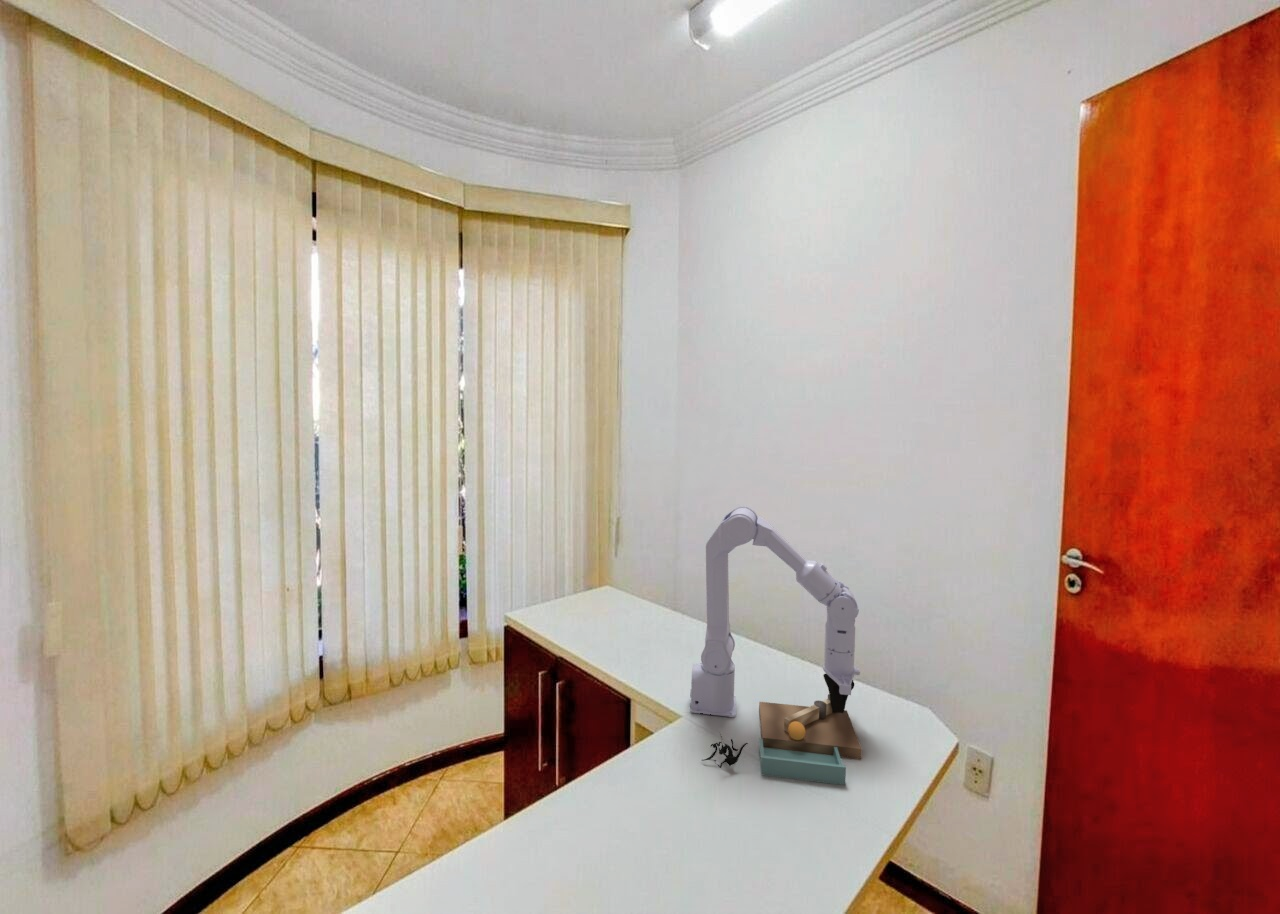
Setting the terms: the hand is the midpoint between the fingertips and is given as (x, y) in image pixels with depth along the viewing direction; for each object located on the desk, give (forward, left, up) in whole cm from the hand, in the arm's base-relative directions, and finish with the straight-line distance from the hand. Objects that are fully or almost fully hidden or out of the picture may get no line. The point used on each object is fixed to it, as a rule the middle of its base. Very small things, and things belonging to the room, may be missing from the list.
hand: (837, 711), depth 109 cm
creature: (-23, -16, -3) cm, 28 cm away
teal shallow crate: (-9, -14, -3) cm, 17 cm away
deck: (-7, -4, -3) cm, 8 cm away
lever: (-5, -3, -1) cm, 6 cm away
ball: (-9, -10, +2) cm, 14 cm away
